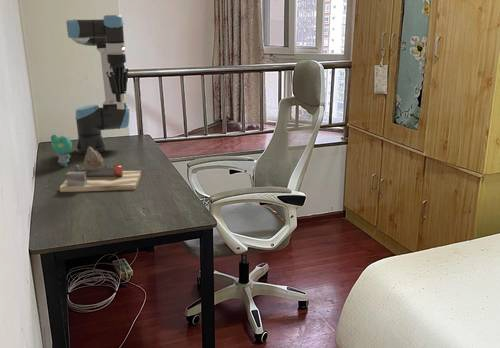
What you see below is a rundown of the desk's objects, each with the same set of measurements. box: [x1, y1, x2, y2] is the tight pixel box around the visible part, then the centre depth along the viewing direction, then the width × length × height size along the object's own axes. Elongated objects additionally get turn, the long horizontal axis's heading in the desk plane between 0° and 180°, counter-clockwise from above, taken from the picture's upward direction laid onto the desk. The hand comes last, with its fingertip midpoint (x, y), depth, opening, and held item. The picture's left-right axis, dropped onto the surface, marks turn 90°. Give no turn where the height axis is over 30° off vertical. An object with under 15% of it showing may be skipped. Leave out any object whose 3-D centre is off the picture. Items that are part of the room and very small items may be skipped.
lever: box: [79, 164, 124, 177], centre depth 211 cm, size 4×18×4 cm, turn 91°
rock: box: [82, 147, 106, 168], centre depth 225 cm, size 14×10×8 cm
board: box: [59, 164, 142, 193], centre depth 209 cm, size 19×30×7 cm, turn 95°
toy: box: [50, 134, 73, 168], centre depth 231 cm, size 9×8×15 cm
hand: (120, 108), depth 215 cm, fingers closed
